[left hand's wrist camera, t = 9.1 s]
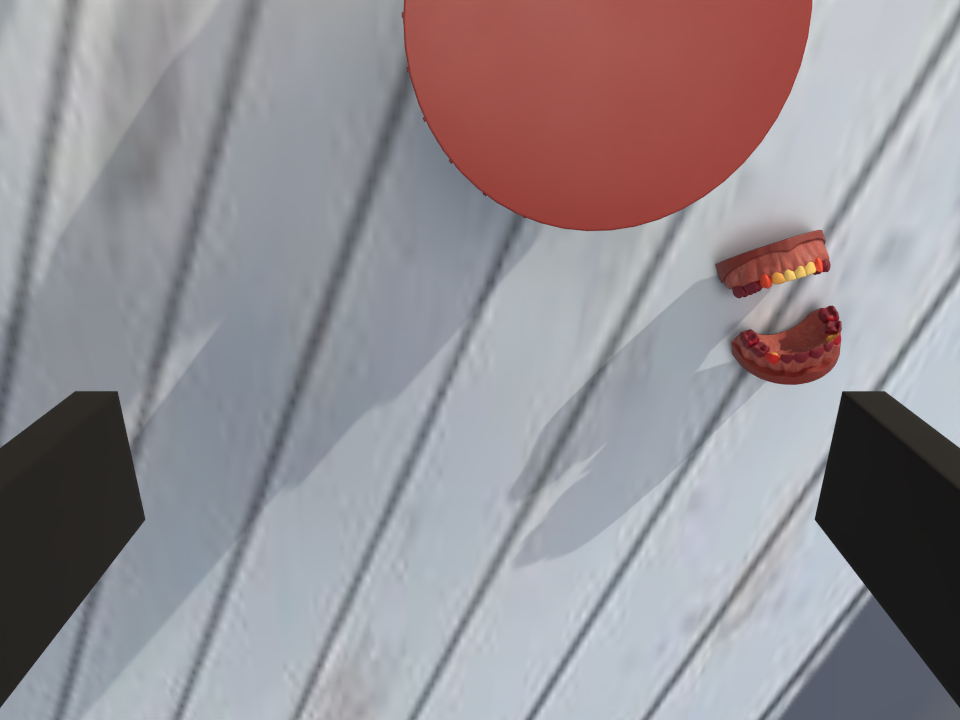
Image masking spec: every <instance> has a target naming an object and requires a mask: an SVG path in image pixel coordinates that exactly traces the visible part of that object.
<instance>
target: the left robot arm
mask: <svg viewBox="0 0 960 720" xmlns="http://www.w3.org/2000/svg"><path fill="white" fill-rule="evenodd" d="M144 521H145V516H144V511H143V507H142V502H141V497H140V493H139V488H138V484H137V479H136V474H135V470H134V465H133V461H132V456H131V451H130V447H129V442H128V437H127V433H126V428H125V424H124V419H123V414H122V410H121V405H120V401H119V396H118V391H75V392H74V393H72V394H71V395H70V396H69V397H67V398H66V399H65V400H63V401H62V402H61V403H59V404H58V405H57V406H55V407H54V408H53V409H51V410H50V411H49V412H47V413H46V414H45V415H43V416H42V417H41V418H39V419H38V420H37V421H35V422H34V423H33V424H32V425H30V426H29V427H28V428H26V429H25V430H24V431H22V432H21V433H20V434H18V435H17V436H16V437H14V438H13V439H12V440H10V441H9V442H8V443H6V444H5V445H4V446H2V447H1V448H0V707H1V706H2V705H3V704H4V702H5V701H6V700H7V698H8V697H9V696H10V694H11V693H12V692H13V691H14V689H15V688H16V687H17V685H18V684H19V683H20V681H21V680H22V679H23V678H24V676H25V675H26V674H27V672H28V671H29V670H30V668H31V667H32V666H33V665H34V663H35V662H36V661H37V659H38V658H39V657H40V656H41V654H42V653H43V652H44V650H45V649H46V648H47V646H48V645H49V644H50V643H51V641H52V640H53V639H54V637H55V636H56V635H57V633H58V632H59V631H60V630H61V628H62V627H63V626H64V624H65V623H66V622H67V620H68V619H69V618H70V617H71V615H72V614H73V613H74V611H75V610H76V609H77V607H78V606H79V605H80V604H81V602H82V601H83V600H84V598H85V597H86V596H87V595H88V593H89V592H90V591H91V589H92V588H93V587H94V585H95V584H96V583H97V582H98V580H99V579H100V578H101V576H102V575H103V574H104V572H105V571H106V570H107V569H108V567H109V566H110V565H111V563H112V562H113V561H114V559H115V558H116V557H117V556H118V554H119V553H120V552H121V550H122V549H123V548H124V546H125V545H126V544H127V543H128V541H129V540H130V539H131V537H132V536H133V535H134V534H135V532H136V531H137V530H138V528H139V527H140V526H141V524H142V523H143V522H144ZM815 521H816V522H817V523H818V524H819V526H820V527H821V528H822V530H823V531H824V532H825V534H826V535H827V536H828V537H829V539H830V540H831V541H832V543H833V544H834V545H835V546H836V548H837V549H838V550H839V552H840V553H841V554H842V556H843V557H844V558H845V559H846V561H847V562H848V563H849V565H850V566H851V567H852V569H853V570H854V571H855V572H856V574H857V575H858V576H859V578H860V579H861V580H862V582H863V583H864V584H865V585H866V587H867V588H868V589H869V591H870V592H871V593H872V595H873V596H874V597H875V598H876V600H877V601H878V602H879V604H880V605H881V606H882V607H883V609H884V610H885V611H886V613H887V614H888V615H889V617H890V618H891V619H892V620H893V622H894V623H895V624H896V626H897V627H898V628H899V630H900V631H901V632H902V633H903V635H904V636H905V637H906V639H907V640H908V641H909V643H910V644H911V645H912V646H913V648H914V649H915V650H916V652H917V653H918V654H919V655H920V657H921V658H922V659H923V661H924V662H925V663H926V665H927V666H928V667H929V668H930V670H931V671H932V672H933V674H934V675H935V676H936V678H937V679H938V680H939V681H940V683H941V684H942V685H943V687H944V688H945V689H946V691H947V692H948V693H949V694H950V696H951V697H952V698H953V700H954V701H955V702H956V704H957V705H958V706H959V707H960V448H959V447H958V446H956V445H955V444H954V443H952V442H951V441H950V440H948V439H947V438H946V437H944V436H943V435H942V434H940V433H939V432H938V431H936V430H935V429H934V428H932V427H931V426H930V425H928V424H927V423H926V422H925V421H923V420H922V419H921V418H919V417H918V416H917V415H915V414H914V413H913V412H911V411H910V410H909V409H907V408H906V407H905V406H903V405H902V404H901V403H899V402H898V401H897V400H895V399H894V398H893V397H891V396H890V395H889V394H888V393H886V392H885V391H842V396H841V401H840V405H839V410H838V414H837V419H836V424H835V428H834V433H833V437H832V442H831V447H830V451H829V456H828V461H827V465H826V470H825V474H824V479H823V484H822V488H821V493H820V497H819V502H818V507H817V511H816V516H815Z"/></svg>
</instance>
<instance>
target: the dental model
mask: <svg viewBox="0 0 960 720" xmlns="http://www.w3.org/2000/svg"><path fill="white" fill-rule="evenodd" d="M824 245H825V238H824V235H823V232H822V230H817V231H813V232H809V233H806V234H802V235H798V236H795V237H792V238H789V239H785V240H782V241H779V242H776V243H773V244H770V245H767V246H764V247H761V248H758V249H755V250H752V251H749V252H746V253H743V254H740V255H738V256H735V257H732V258H730V259H727V260H725V261H722V262H720V263H718V264H716V267H717V271H718V274H719V277H720V280H721V282H724V283H725V285H726V286H727V287H728V288H729V289H733V294H734V296H735V297H737V298H741V297H746V296H748V295H752V294H753V293H756V292H757V291H760V290H761V289H762V288H763V287H764V288H767V289H769V288H770V287H771V285H772V281H773V283H774V284H781V283H784V282H785V280H786V281H791V280H795V279H796V277H797V279H798V278H801V277H804V276H806V274H807V275H810V274H814V275H816V274H820V273H821V272H828V271H829V270H830V261H829V256H828V253H827V250H826V248H825V246H824ZM793 271H794V272H795V274H794V272H793ZM783 274H784V276H783ZM795 275H796V276H795ZM771 277H772V279H771ZM838 320H839V315H838V312H837V311H836V309H835V307H834V306H828V307H827V308H821V309H817V310H815V311H813V312H811V313H810V314H809V315H808V316H807V317H806V318H805V319H804V320H803V321H802V322H801V323H799V324H798V325H797V326H795V327H793V328H792V329H789V330H787V331H785V332H781V333H778V334H774V335H760V334H757V333H755V332H754V331H753V330H748V331H744V332H741V333H740V335H738V336H737V337H736V338H735V339H734V340H733V341H732V354H733V356H734V357H735V359H736V360H737V361H738V362H739V364H740V365H741V366H742V367H743V368H745V369H746V370H747V371H748V372H750V373H751V374H753V375H755V376H757V377H759V378H761V379H764V380H766V381H769V382H773V383H778V384H790V385H796V384H803V383H808V382H812V381H814V380H817V379H819V378H821V377H823V376H824V375H826V374H827V373H828V372H830V371H831V370H832V368H833V367H834V366H835V364H836V362H837V360H838V358H839V354H840V345H841V333H840V332H841V330H842V327H841V321H838Z"/></svg>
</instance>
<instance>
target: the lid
mask: <svg viewBox="0 0 960 720" xmlns="http://www.w3.org/2000/svg"><path fill="white" fill-rule="evenodd" d="M811 12H812V0H404V12H402V18H403V23H404V39H405V51H406V56H407V62H408V67H407V72H409V73H410V78H411V81H412V84H413V87H414V91H415V94H416V97H417V100H418V104H419V106H420V108H421V110H422V112H423V115H424V117H423V120H424V122H425V121H427V124H428V126H429V128H430V130H431V131H432V133H433V135H434V136H435V138H436V140H437V141H438V143H439V145H440V146H441V148H442V149H443V151H444V152H445V154H446V155H447V156H448V157H449V162H450V163H451V164H452V163H453V164H454V165H455V166H456V167H457V169H458V170H459V171H460V172H461V173H462V174H463V175H464V176H465V177H466V178H467V179H468V180H469V181H470V182H471V183H472V184H473V185H475V186H476V187H477V188H478V189H479V190H480V191H482V192H483V195H485V196H489V197H490V198H491V199H493V200H494V201H495V202H497V203H498V204H500V205H502V206H504V207H506V208H507V209H509V210H511V211H513V212H515V213H517V214H519V215H521V216H523V217H524V218H529V219H531V220H534V221H537V222H539V223H543V224H547V225H551V226H555V227H559V228H563V229H573V230H583V231H604V230H616V229H622V228H629V227H635V226H638V225H642V224H645V223H649V222H652V221H656V220H659V219H661V218H663V217H666V216H668V215H670V214H673V213H675V212H677V211H680V210H682V209H684V208H685V207H687V206H689V205H690V204H692V203H694V202H696V201H697V200H699V199H701V198H703V197H704V196H705V195H707V194H708V193H709V192H711V191H712V190H713V189H715V188H716V187H717V186H719V185H720V184H721V183H723V182H724V181H725V180H726V179H727V178H728V177H729V176H730V175H732V174H733V173H734V172H735V171H736V170H737V169H738V168H739V167H740V166H741V165H742V164H743V163H744V162H745V161H746V160H747V158H748V157H749V156H750V155H751V154H752V153H753V151H754V150H755V149H756V148H757V147H758V145H759V144H760V143H761V142H762V140H763V139H764V137H765V136H766V134H767V133H768V131H769V130H770V128H771V127H772V125H773V124H774V122H775V121H776V119H777V118H778V116H779V114H780V112H781V110H782V108H783V106H784V104H785V102H786V100H787V98H788V96H789V94H790V92H791V89H792V87H793V84H794V82H795V79H796V76H797V74H798V71H799V69H800V66H801V62H802V58H803V54H804V50H805V47H806V43H807V39H808V33H809V26H810V19H811Z"/></svg>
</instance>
